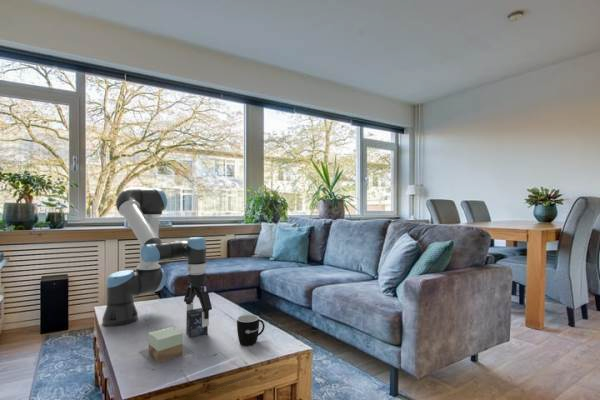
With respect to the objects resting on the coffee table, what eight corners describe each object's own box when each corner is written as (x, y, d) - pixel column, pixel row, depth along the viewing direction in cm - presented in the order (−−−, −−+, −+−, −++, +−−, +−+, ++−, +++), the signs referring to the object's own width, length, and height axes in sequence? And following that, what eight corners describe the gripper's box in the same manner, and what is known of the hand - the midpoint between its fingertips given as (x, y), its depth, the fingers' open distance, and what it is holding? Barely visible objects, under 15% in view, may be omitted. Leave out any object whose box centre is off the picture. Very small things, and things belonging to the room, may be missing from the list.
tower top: (148, 343, 125) (148, 333, 125) (172, 336, 132) (172, 326, 132) (158, 351, 119) (158, 340, 119) (182, 343, 125) (182, 333, 125)
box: (189, 338, 141) (189, 313, 141) (186, 334, 145) (186, 310, 145) (208, 334, 145) (208, 310, 145) (204, 330, 150) (204, 306, 150)
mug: (242, 349, 130) (242, 323, 130) (233, 341, 137) (233, 317, 138) (269, 342, 137) (269, 317, 137) (259, 335, 144) (259, 311, 144)
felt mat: (138, 352, 127) (138, 351, 127) (176, 341, 138) (176, 340, 138) (153, 366, 117) (153, 365, 117) (193, 352, 127) (193, 351, 127)
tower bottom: (148, 354, 125) (148, 343, 125) (172, 347, 132) (172, 336, 132) (158, 362, 119) (158, 351, 119) (182, 354, 125) (182, 343, 125)
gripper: (176, 270, 151) (176, 317, 151) (203, 278, 134) (204, 332, 133) (191, 268, 157) (191, 313, 156) (220, 275, 139) (220, 327, 139)
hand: (197, 322), depth 145 cm, fingers open, 13 cm apart
